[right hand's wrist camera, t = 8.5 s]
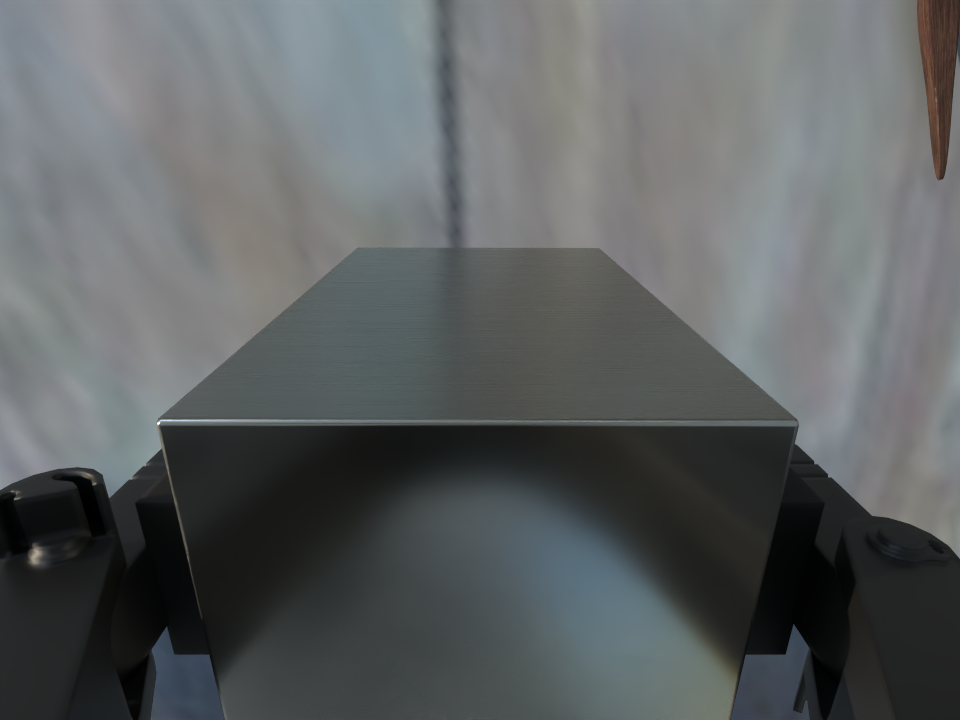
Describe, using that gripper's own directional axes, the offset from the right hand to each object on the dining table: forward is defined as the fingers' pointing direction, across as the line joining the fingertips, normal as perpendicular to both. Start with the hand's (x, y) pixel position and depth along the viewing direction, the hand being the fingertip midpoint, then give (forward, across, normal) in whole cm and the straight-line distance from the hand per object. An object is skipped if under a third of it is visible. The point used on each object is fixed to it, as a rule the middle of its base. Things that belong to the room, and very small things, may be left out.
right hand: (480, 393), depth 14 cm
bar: (+1, 0, -10) cm, 10 cm away
